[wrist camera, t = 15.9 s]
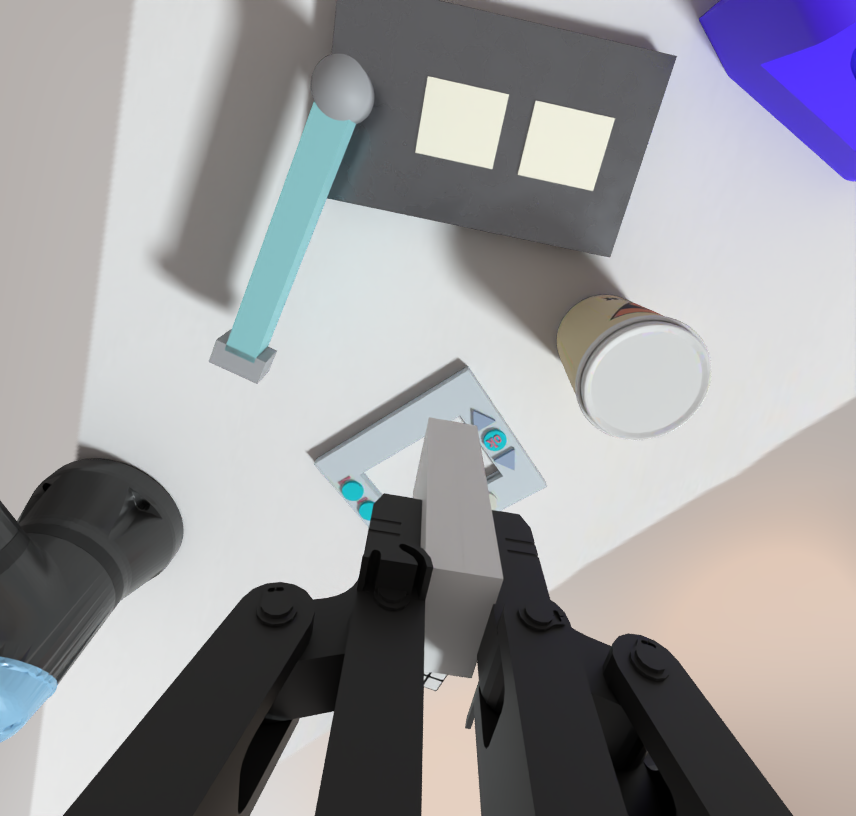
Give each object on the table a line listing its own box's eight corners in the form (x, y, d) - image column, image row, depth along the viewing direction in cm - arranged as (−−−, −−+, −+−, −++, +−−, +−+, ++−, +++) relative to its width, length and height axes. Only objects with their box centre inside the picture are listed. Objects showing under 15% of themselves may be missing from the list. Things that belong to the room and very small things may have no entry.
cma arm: (331, 51, 34) (321, 39, 31) (385, 83, 35) (380, 74, 32) (224, 349, 43) (208, 362, 40) (269, 370, 43) (256, 384, 41)
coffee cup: (673, 320, 46) (746, 365, 35) (605, 401, 49) (652, 465, 38) (590, 263, 44) (640, 292, 33) (526, 352, 47) (551, 404, 36)
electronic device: (468, 371, 47) (547, 489, 52) (467, 363, 49) (543, 477, 54) (312, 466, 51) (399, 566, 56) (317, 455, 53) (400, 552, 58)
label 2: (517, 174, 39) (517, 174, 39) (535, 100, 37) (535, 100, 37) (592, 190, 40) (593, 190, 40) (614, 118, 38) (615, 118, 38)
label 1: (415, 152, 39) (415, 152, 39) (427, 76, 37) (427, 76, 37) (492, 169, 39) (492, 169, 39) (508, 94, 37) (509, 94, 37)
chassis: (323, 195, 42) (310, 197, 38) (344, -13, 37) (332, -37, 33) (603, 253, 44) (619, 261, 40) (665, 62, 38) (691, 48, 34)
